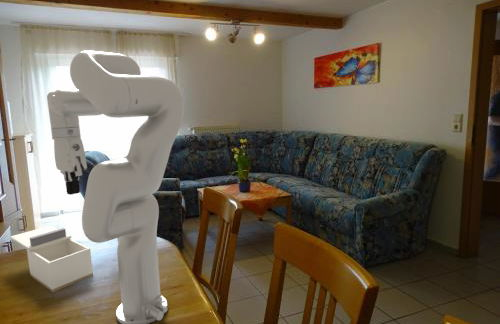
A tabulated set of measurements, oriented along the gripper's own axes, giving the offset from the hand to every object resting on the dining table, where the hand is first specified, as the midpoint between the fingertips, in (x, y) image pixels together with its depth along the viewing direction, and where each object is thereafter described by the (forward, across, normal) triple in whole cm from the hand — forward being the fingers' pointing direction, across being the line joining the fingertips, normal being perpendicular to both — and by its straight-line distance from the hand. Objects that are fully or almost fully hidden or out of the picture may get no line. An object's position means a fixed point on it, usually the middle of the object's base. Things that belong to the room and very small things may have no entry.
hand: (73, 193), depth 104 cm
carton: (+26, +5, +5) cm, 27 cm away
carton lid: (+17, +17, +4) cm, 24 cm away
